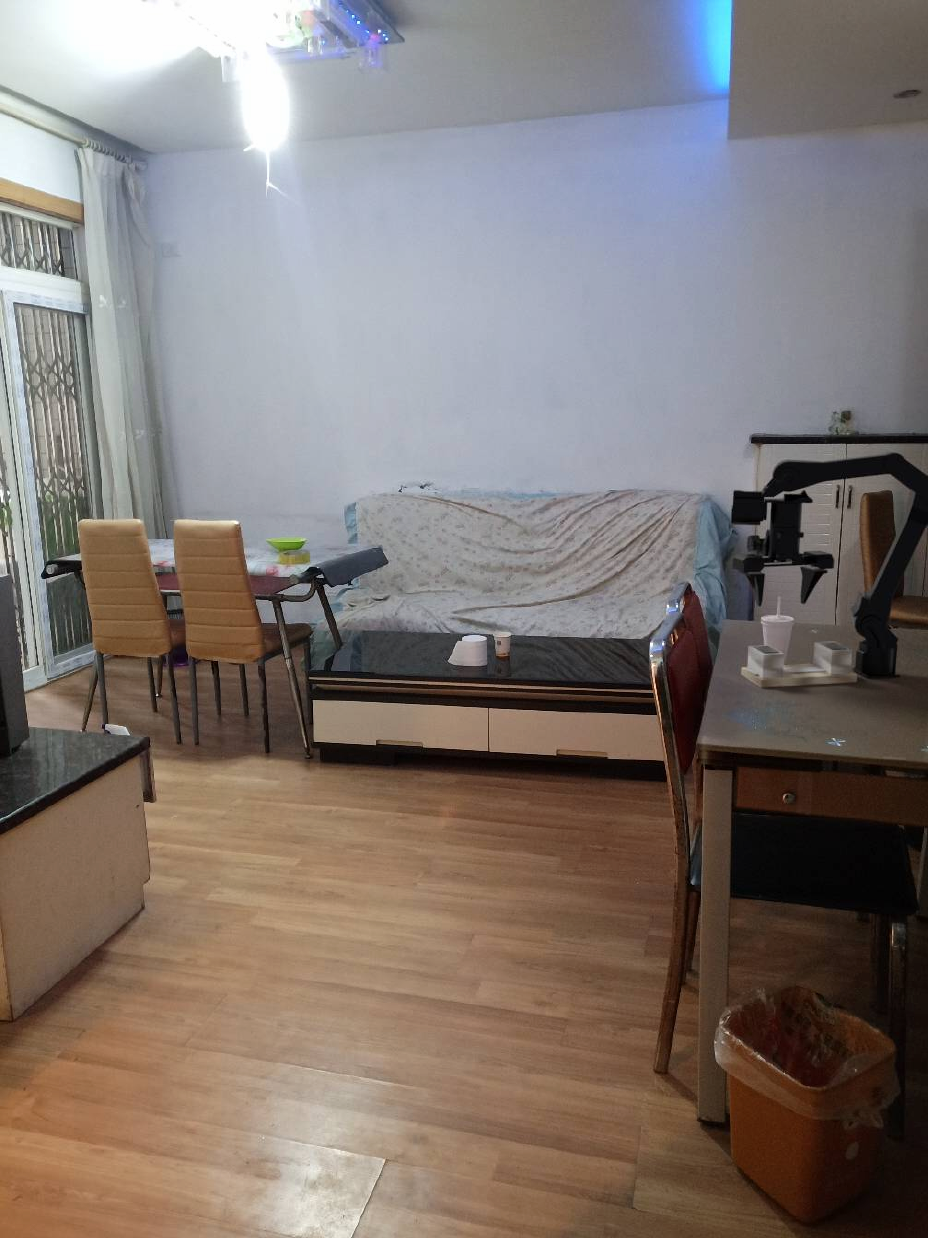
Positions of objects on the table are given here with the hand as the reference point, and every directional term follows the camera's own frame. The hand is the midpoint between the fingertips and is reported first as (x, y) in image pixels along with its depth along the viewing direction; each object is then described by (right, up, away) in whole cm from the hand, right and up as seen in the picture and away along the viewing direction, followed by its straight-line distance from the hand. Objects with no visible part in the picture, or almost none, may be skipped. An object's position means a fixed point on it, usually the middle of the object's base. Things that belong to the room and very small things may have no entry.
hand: (781, 604), depth 191 cm
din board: (+2, -14, -4) cm, 15 cm away
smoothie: (+1, -12, +6) cm, 14 cm away
